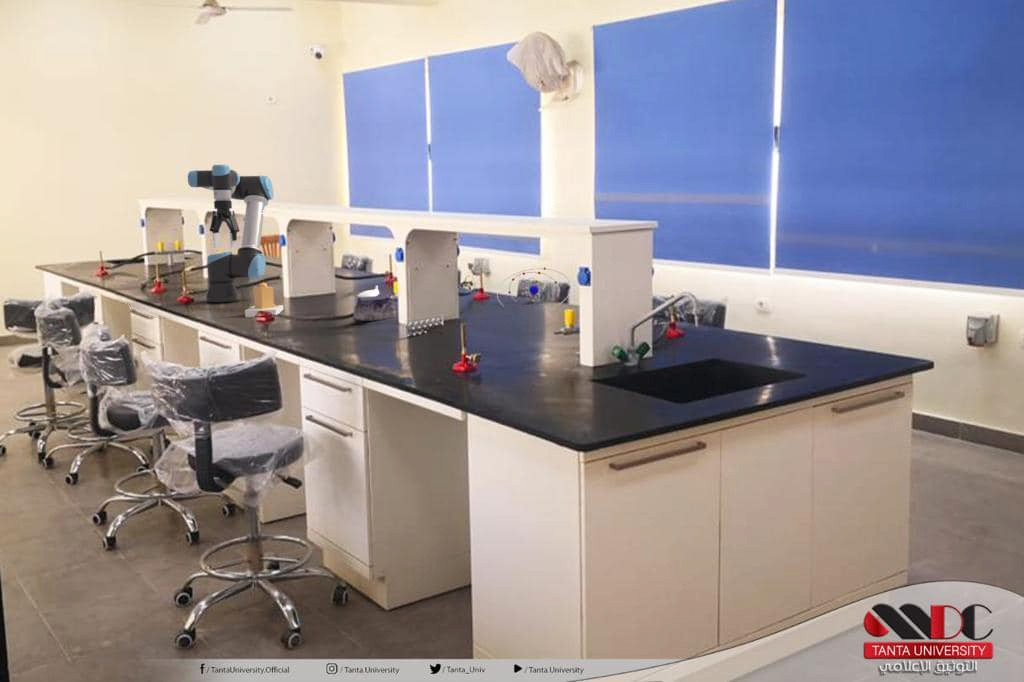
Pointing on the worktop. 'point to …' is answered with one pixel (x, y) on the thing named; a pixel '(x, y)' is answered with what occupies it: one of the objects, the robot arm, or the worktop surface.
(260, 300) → the orange cube with dome
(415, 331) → the molecular model
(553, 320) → the worktop surface
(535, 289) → the atomic model
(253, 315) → the block
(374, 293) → the driver head
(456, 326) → the worktop surface
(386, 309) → the geode
